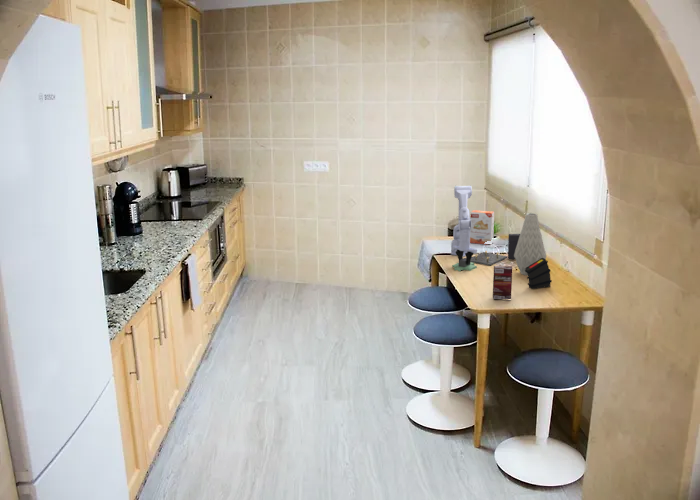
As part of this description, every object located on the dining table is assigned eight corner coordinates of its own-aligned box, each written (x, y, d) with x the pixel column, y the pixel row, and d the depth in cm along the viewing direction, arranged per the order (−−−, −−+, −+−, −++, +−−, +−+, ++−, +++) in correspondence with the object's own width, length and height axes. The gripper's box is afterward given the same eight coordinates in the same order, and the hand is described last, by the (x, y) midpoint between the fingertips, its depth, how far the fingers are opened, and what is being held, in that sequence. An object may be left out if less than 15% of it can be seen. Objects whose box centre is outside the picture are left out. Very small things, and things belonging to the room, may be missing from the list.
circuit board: (448, 269, 347) (448, 260, 346) (462, 262, 358) (462, 255, 356) (466, 272, 339) (466, 264, 338) (480, 266, 350) (480, 258, 349)
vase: (543, 279, 323) (546, 218, 315) (510, 276, 330) (512, 216, 321) (547, 270, 338) (550, 211, 329) (516, 267, 345) (518, 210, 336)
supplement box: (493, 300, 296) (493, 268, 292) (492, 296, 301) (493, 265, 297) (511, 300, 295) (512, 268, 290) (510, 297, 299) (511, 265, 295)
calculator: (526, 258, 362) (527, 233, 358) (528, 260, 358) (529, 235, 354) (507, 258, 363) (508, 233, 359) (508, 260, 359) (509, 235, 355)
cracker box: (469, 243, 399) (470, 211, 394) (472, 241, 404) (472, 209, 399) (491, 245, 393) (491, 213, 387) (493, 242, 398) (494, 211, 392)
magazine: (556, 283, 311) (546, 258, 306) (535, 296, 310) (524, 272, 305) (552, 281, 315) (542, 257, 310) (531, 294, 314) (520, 270, 308)
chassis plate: (465, 261, 360) (465, 255, 359) (483, 253, 374) (483, 248, 373) (490, 265, 350) (490, 260, 349) (507, 257, 364) (507, 252, 363)
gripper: (449, 240, 346) (449, 263, 350) (472, 243, 337) (471, 267, 340) (456, 237, 351) (456, 260, 355) (479, 241, 342) (478, 264, 345)
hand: (464, 263), depth 348 cm, fingers closed on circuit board, 4 cm apart
